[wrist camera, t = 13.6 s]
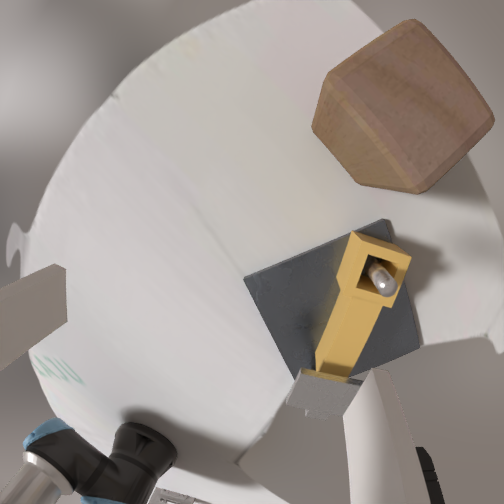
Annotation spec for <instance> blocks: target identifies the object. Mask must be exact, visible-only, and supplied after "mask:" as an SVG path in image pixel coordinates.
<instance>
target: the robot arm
mask: <svg viewBox="0 0 504 504" xmlns="http://www.w3.org/2000/svg"><path fill="white" fill-rule="evenodd" d="M66 322H67V305H66V269H65V268H63V267H61V266H59V265H56V264H53V265H50V266H48V267H46V268H43V269H41V270H39V271H37V272H35V273H32V274H30V275H28V276H26V277H24V278H22V279H19V280H18V281H15V282H13V283H11V284H9V285H7V286H5V287H3V288H1V289H0V371H1V370H2V369H4V368H5V367H6V366H7V365H9V364H10V363H11V362H13V361H14V360H15V359H17V358H18V357H19V356H21V355H22V354H23V353H25V352H26V351H27V350H29V349H30V348H31V347H33V346H34V345H36V344H37V343H38V342H40V341H41V340H42V339H44V338H45V337H47V336H48V335H49V334H51V333H52V332H53V331H55V330H56V329H58V328H59V327H60V326H62V325H63V324H65V323H66ZM343 421H344V430H345V438H346V448H347V457H348V469H349V481H350V496H351V504H445V502H444V499H443V495H442V492H441V488H440V485H439V482H437V480H438V478H437V475H436V472H434V470H435V469H434V465H433V463H432V459H431V457H430V456H429V454H428V453H427V452H426V450H425V449H424V448H423V447H415V445H414V442H413V439H412V436H411V433H410V430H409V427H408V424H407V421H406V418H405V415H404V412H403V409H402V406H401V403H400V401H399V398H398V395H397V392H396V390H395V387H394V384H393V382H392V379H391V376H390V374H389V371H387V370H382V369H376V368H371V370H370V372H369V373H368V375H367V377H366V379H365V381H364V382H363V384H362V386H361V387H360V389H359V391H358V392H357V394H356V396H355V397H354V399H353V401H352V402H351V404H350V405H349V407H348V408H347V410H346V412H345V413H344V415H343ZM23 446H24V448H25V450H26V451H25V452H24V453H23V459H24V465H23V467H22V468H21V469H20V470H19V471H18V472H17V473H16V475H15V476H14V477H13V478H12V479H11V480H10V481H9V483H8V484H7V485H6V486H5V487H4V488H3V490H2V491H1V492H0V504H55V503H56V502H57V500H58V499H59V498H60V496H61V495H71V494H72V493H73V492H74V490H75V491H76V492H78V493H79V494H81V495H82V497H81V503H82V504H147V502H148V499H149V497H150V495H151V493H152V491H153V489H154V487H155V485H156V483H157V481H158V479H159V478H160V477H161V476H162V475H163V474H164V473H165V472H166V471H168V470H169V469H170V468H171V467H172V466H173V465H174V463H175V461H176V458H177V451H176V449H175V448H174V446H173V445H172V444H171V443H170V442H169V441H168V440H167V439H166V438H165V437H163V436H162V435H161V434H159V433H158V432H156V431H154V430H152V429H150V428H148V427H146V426H143V425H140V424H136V423H124V424H122V425H121V426H120V427H119V428H118V430H117V431H116V434H115V439H114V444H113V448H112V453H111V454H110V456H109V458H108V457H106V456H105V455H104V454H103V453H101V452H100V451H99V450H97V449H96V448H95V447H94V446H92V445H91V444H90V443H89V442H87V441H86V440H85V439H84V438H83V437H81V436H80V435H79V434H78V433H77V432H75V430H74V429H73V428H72V427H70V426H69V425H67V424H66V423H65V422H64V421H63V420H61V419H60V418H51V419H49V420H47V421H45V422H44V423H42V424H41V425H40V426H38V427H37V428H36V429H35V430H34V431H33V432H32V433H31V434H30V435H28V437H27V438H26V439H25V440H24V442H23Z"/></svg>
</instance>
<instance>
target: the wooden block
mask: <svg viewBox="0 0 504 504" xmlns="http://www.w3.org/2000/svg"><path fill="white" fill-rule="evenodd" d="M494 122H495V118H494V115H493V112H492V111H491V109H490V107H489V106H488V104H487V103H486V101H485V100H484V98H483V97H482V95H481V94H480V92H479V91H478V89H477V88H476V86H475V85H474V84H473V82H472V81H471V80H470V78H469V77H468V76H467V74H466V73H465V72H464V70H463V69H462V68H461V66H460V65H459V64H458V63H457V61H456V60H455V59H454V58H453V57H452V55H451V54H450V53H449V52H448V51H447V49H446V48H445V47H444V46H443V45H442V44H441V43H440V42H439V40H438V39H437V38H436V37H435V36H434V35H433V34H432V33H431V32H430V31H429V30H428V29H427V28H426V27H425V26H424V25H423V24H422V23H421V22H419V21H417V20H416V19H410V20H405V21H402V22H401V23H399V24H398V25H396V26H394V27H393V28H391V29H390V30H388V31H387V32H385V33H384V34H382V35H380V36H379V37H377V38H376V39H374V40H373V41H371V42H370V43H369V44H367V45H366V46H364V47H363V48H361V49H360V50H358V51H357V52H356V53H354V54H353V55H351V56H350V57H348V58H347V59H346V60H344V61H343V62H342V63H340V64H339V65H337V66H336V67H335V68H333V69H332V70H331V71H329V72H328V74H327V76H326V78H325V80H324V82H323V85H322V89H321V93H320V97H319V100H318V104H317V108H316V111H315V115H314V119H313V122H312V126H311V127H312V130H313V133H314V134H315V135H316V136H317V137H318V138H319V139H320V140H321V141H322V143H323V144H324V145H325V146H326V147H327V148H328V149H329V151H330V152H331V153H332V154H333V155H334V156H335V158H336V159H337V160H338V161H339V162H340V163H341V165H342V166H343V167H344V168H345V169H346V171H347V172H348V173H349V174H350V176H351V177H352V178H353V179H354V181H355V182H356V183H358V184H360V185H363V186H369V187H376V188H382V189H388V190H394V191H400V192H406V193H411V194H420V193H423V192H426V191H427V190H428V189H429V188H431V187H432V186H433V185H434V184H435V183H436V182H437V181H438V180H439V179H440V178H441V177H442V176H444V175H445V174H446V173H447V172H448V171H449V170H450V169H451V168H452V167H453V166H454V165H455V164H456V163H457V162H458V161H459V160H460V159H461V158H462V157H463V156H464V155H465V154H466V153H467V152H469V150H470V149H471V148H472V147H474V146H475V145H476V144H477V143H478V142H479V140H481V138H482V137H483V136H484V135H485V134H486V133H487V132H488V131H489V130H490V129H491V128H492V126H493V124H494Z"/></svg>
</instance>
